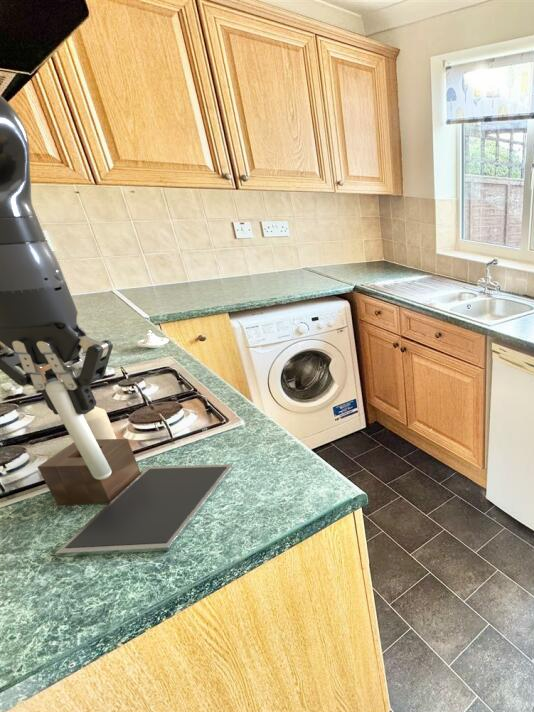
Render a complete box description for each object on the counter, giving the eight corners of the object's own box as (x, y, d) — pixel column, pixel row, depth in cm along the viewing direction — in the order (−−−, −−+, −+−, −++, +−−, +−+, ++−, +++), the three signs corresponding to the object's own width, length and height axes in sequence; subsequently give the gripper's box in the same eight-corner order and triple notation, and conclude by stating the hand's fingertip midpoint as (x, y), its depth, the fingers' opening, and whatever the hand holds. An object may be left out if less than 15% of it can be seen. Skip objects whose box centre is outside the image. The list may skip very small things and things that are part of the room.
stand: (57, 505, 70) (37, 466, 67) (93, 476, 77) (77, 439, 74) (110, 503, 71) (93, 465, 68) (141, 474, 79) (127, 438, 75)
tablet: (56, 557, 61) (54, 552, 61) (149, 469, 80) (148, 466, 80) (169, 551, 63) (168, 546, 63) (234, 467, 82) (233, 463, 82)
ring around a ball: (135, 352, 130) (168, 349, 133) (129, 335, 127) (162, 332, 131) (141, 345, 136) (171, 342, 140) (135, 328, 134) (166, 326, 137)
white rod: (91, 482, 60) (37, 385, 52) (101, 473, 61) (50, 377, 54) (107, 482, 60) (55, 385, 52) (117, 473, 62) (68, 377, 54)
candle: (83, 450, 84) (63, 406, 80) (119, 441, 88) (102, 399, 83) (82, 463, 80) (62, 418, 76) (120, 453, 84) (103, 410, 80)
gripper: (-89, 286, 44) (-12, 427, 52) (59, 290, 46) (113, 425, 54) (-18, 273, 51) (41, 399, 58) (109, 277, 53) (151, 398, 60)
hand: (75, 411), depth 56 cm, fingers closed on white rod, 2 cm apart
